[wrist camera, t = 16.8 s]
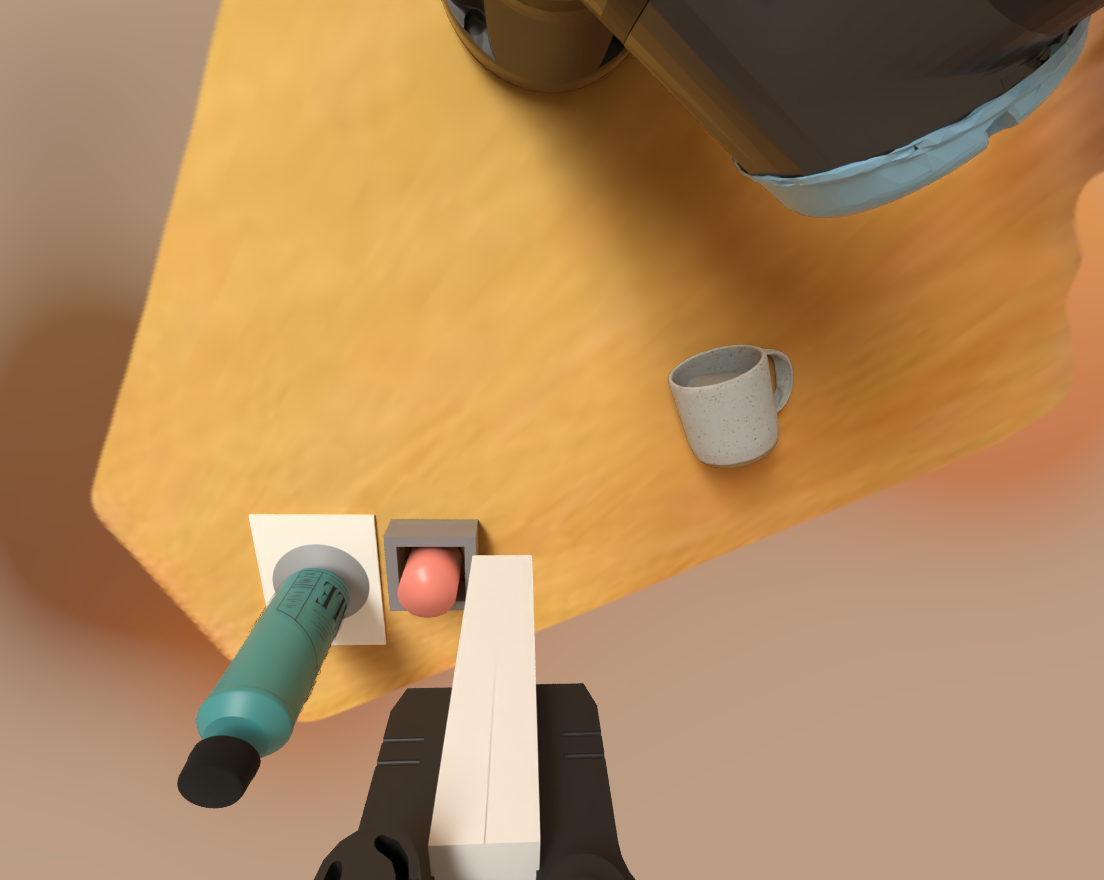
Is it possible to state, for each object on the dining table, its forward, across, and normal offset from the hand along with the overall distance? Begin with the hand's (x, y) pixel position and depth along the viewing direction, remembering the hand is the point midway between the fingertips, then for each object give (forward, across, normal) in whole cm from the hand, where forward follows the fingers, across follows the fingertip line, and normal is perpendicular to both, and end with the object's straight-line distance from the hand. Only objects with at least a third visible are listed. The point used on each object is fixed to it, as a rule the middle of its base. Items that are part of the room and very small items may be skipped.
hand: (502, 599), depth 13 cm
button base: (+31, -8, -21) cm, 38 cm away
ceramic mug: (+32, +18, -3) cm, 37 cm away
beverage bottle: (+31, -18, -23) cm, 43 cm away
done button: (+30, -8, -21) cm, 37 cm away
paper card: (+31, -19, -23) cm, 43 cm away
